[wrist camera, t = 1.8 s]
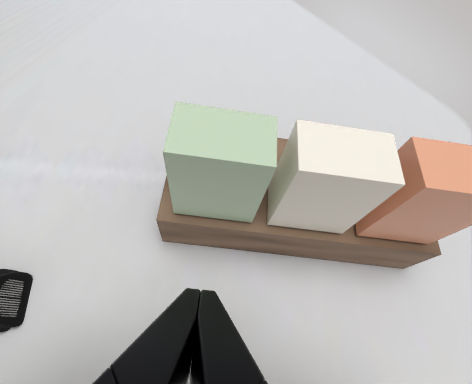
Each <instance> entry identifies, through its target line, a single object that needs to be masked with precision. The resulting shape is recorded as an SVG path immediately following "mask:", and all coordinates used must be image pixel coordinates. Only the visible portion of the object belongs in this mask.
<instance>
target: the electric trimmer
mask: <svg viewBox="0 0 472 384" xmlns="http://www.w3.org/2000/svg"><path fill="white" fill-rule="evenodd" d="M32 281H33V279H32V276H31V275H30V274H28V273H24V272H18V271H14V270H8V269H0V332H3V331H7V330H9V329H10V327H15V326H19V325H20V324H22V322H23V320H24V317H25V312H26V308H27V303H28V299H29V294H30V290H31V286H32Z"/></svg>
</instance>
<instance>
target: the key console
mask: <svg viewBox="0 0 472 384" xmlns="http://www.w3.org/2000/svg"><path fill="white" fill-rule="evenodd" d="M287 141H288V139H282V138H277V164H278V162H279V159H280V157H281V155H282V153H283V150H284V148H285V146H286V144H287ZM267 214H268V188H267V190H266V192H265V194H264V197H263V199H262V201H261V203H260V206H259V208H258V210H257V212H256V215H255V217H254V219H253V221H252V223H250V222H242V221H234V220H226V219H217V218H209V217H201V216H193V215H185V214H176V213H173V207H172V202H171V196H170V190H169V184H168V178H167V177H166V181H165V185H164V190H163V194H162V198H161V203H160V207H159V211H158V215H157V220H156V221H157V224H158V227H159V230H160V233H161V237H162V240H163V241H168V242H177V243H185V244H194V245H203V246H211V247H220V248H229V249H237V250H246V251H255V252H264V253H272V254H281V255H290V256H298V257H307V258H316V259H324V260H333V261H342V262H350V263H359V264H368V265H377V266H385V267H394V268H403V269H404V268H407V267H409V266H412V265H415V264H417V263H420V262H423V261H425V260H428V259H431V258H433V257H436V256H439V255H441V251H440V248H439V244H438V240H437V241H435V242H433V243H430V244H422V243H414V242H406V241H398V240H390V239H381V238H373V237H365V236H357V233H356V225H355V224H354V225H353V226H351V227H350V228H349V229H348V230H346V231H345V232H344V233H342V234H340V233H332V232H324V231H316V230H308V229H299V228H291V227H283V226H275V225H267Z"/></svg>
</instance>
